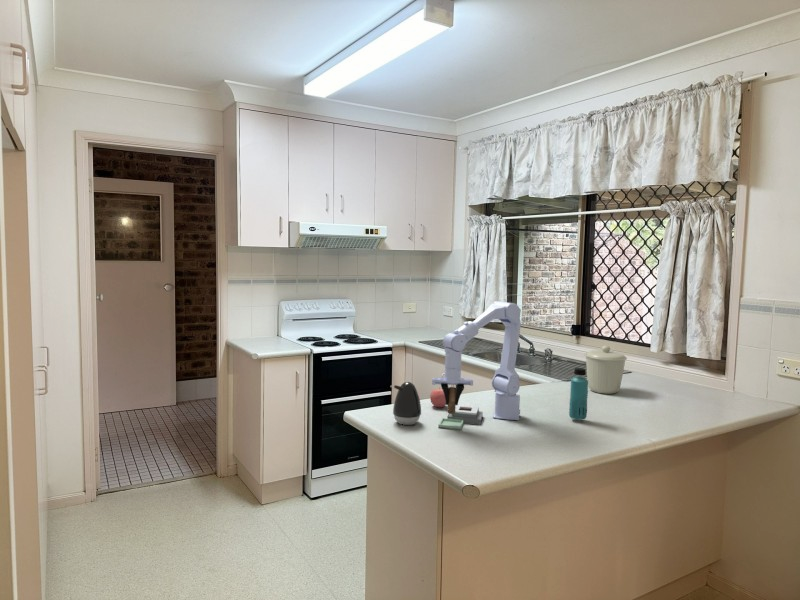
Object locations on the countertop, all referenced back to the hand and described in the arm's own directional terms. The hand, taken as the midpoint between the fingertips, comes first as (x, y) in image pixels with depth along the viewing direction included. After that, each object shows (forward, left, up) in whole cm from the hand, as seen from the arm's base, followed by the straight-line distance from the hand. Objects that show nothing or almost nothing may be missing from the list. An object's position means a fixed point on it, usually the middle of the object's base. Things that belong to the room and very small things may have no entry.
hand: (451, 404), depth 201 cm
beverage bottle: (-45, -20, -8) cm, 50 cm away
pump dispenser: (+16, +2, -8) cm, 18 cm away
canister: (-60, -70, -8) cm, 93 cm away
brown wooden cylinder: (0, 0, -3) cm, 3 cm away
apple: (+8, -22, -8) cm, 25 cm away
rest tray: (0, 0, -8) cm, 8 cm away
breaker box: (-4, -9, -8) cm, 13 cm away
